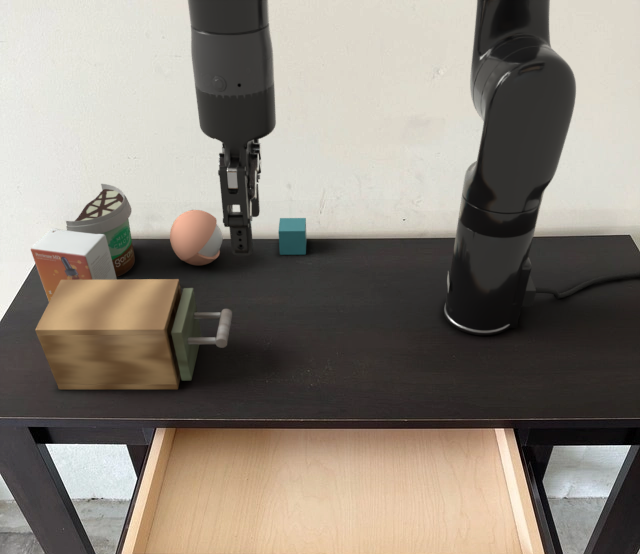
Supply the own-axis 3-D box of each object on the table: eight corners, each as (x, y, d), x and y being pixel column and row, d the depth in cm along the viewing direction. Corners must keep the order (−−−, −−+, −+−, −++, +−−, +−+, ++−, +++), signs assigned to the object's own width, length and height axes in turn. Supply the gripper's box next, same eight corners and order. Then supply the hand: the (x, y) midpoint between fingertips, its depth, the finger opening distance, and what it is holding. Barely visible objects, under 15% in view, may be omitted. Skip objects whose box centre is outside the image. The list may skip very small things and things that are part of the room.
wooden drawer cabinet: (190, 337, 87) (178, 278, 81) (178, 389, 80) (164, 329, 73) (81, 338, 87) (60, 279, 81) (58, 389, 80) (34, 329, 74)
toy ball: (226, 274, 98) (219, 225, 92) (173, 277, 97) (163, 228, 91) (226, 246, 103) (219, 198, 98) (176, 249, 103) (167, 201, 97)
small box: (53, 316, 91) (27, 248, 83) (72, 293, 95) (50, 226, 87) (105, 323, 89) (85, 255, 82) (124, 300, 93) (105, 233, 86)
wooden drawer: (237, 335, 86) (231, 287, 81) (230, 380, 80) (222, 332, 74) (99, 335, 86) (84, 288, 81) (80, 380, 80) (63, 332, 75)
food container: (123, 290, 95) (106, 227, 88) (83, 286, 96) (63, 222, 89) (155, 246, 103) (141, 185, 96) (118, 242, 104) (102, 181, 97)
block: (306, 241, 104) (305, 217, 101) (305, 254, 101) (305, 231, 98) (281, 241, 104) (279, 217, 101) (279, 254, 101) (278, 231, 98)
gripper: (268, 106, 57) (275, 269, 69) (278, 54, 67) (283, 204, 79) (182, 105, 57) (204, 268, 69) (205, 53, 67) (221, 203, 79)
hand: (246, 233), depth 74 cm, fingers open, 8 cm apart
